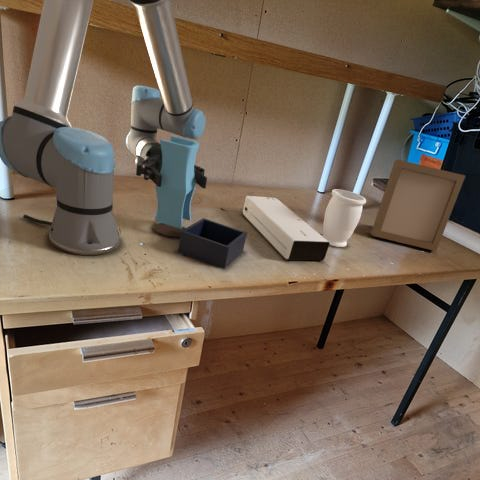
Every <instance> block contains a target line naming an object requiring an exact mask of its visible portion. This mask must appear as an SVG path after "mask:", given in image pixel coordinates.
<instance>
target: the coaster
mask: <svg viewBox="0 0 480 480" xmlns="http://www.w3.org/2000/svg"><path fill="white" fill-rule="evenodd" d="M185 228H186V227H184V226H182V229H180V228H177V227H173V226H169V225H166V224H162V223H157V224H155V225H154V227H153V231H154V232H155V233H157V234H158V235H160V236H163V237H167V238H172V239H180V234H181V231H182V230H184V229H185Z"/></svg>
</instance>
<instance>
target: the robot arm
mask: <svg viewBox="0 0 480 480" xmlns="http://www.w3.org/2000/svg"><path fill="white" fill-rule="evenodd" d="M128 2H129V3H131V4H132V5H133V6H134V8H135V11H136V14H137V18H138V21H139V24H140V28H141V31H142V35H143V38H144V42H145V46H146V48H147V52H148V55H149V58H150V63H151V65H152V69H153V72H154V75H155V79H156V83H157V85H158V88H159V89H158V88H155V87H151V86H146V85H135V86H134V87H133V88H132V96H131V102H130V103H131V110H130V111H131V112H130V129H129V130H130V131H129V132H128V133H127V135H126V139H125V144H126V147H127V149H128V151H129V153H130V154H131V155H132V156H133V157H134V158H135V167H136V168H135V176H137V177H141V176H142V175H143V180H144V181H149V180H151V182H153V184H155V186H156V185H157V186H158V187H161V182H162V175H161V174H160V171H161V168H162V149H161V144H160V142H159V141H157V136H158V135H157V134H158V129H159V130H161V131H165V132H168V133H171V134H174V135H175V136H176V135H177V136H178V137H181V138H185V139H189V140H198V139H199V138H201V136H202V135H203V133H204V131H205V129H206V122H207V121H206V115H205V113H204V112H203V111H202V110H200V109H198V108H195V106H194V103H193V99H192V94H191V90H190V85H189V80H188V75H187V71H186V66H185V61H184V57H183V52H182V48H181V44H180V39H179V34H178V30H177V25H176V21H175V17H174V11H173V7H172V2H171V0H128ZM93 3H94V0H43V4H42V7H41V14H40V19H39V24H38V29H37V32H36V39H35V43H34V48H33V53H32V57H31V62H30V68H29V72H28V78H27V81H26V87H25V92H24V97H23V99H22V100H21V101H19V102H18V101H17V102H16V103H14V105H13V107H12V113H11V115H9V116H5V117H4V118H3V120H0V160H1V162H2V163H3V164H4V165H5V167H7V168H8V169H10V170H11V171H13V172H15V173H17V174H19V175H20V176H22V177H24V178H29V179H31V180H34V181H37V182H40V183H41V184H45V185H47V186H49V187H52V188H55V194H56V209H55V212H54V214H53V217H52V220H51V221H50V220H49V221H48V220H44V219H43V220H42V219H39V218H35V217H32V216H30V215H27V214H23V218H24V219H25V220H28V221H31V222H33V223H37V224H41V225H45V226H50V227H49V231H48V232H49V233H48V237H49V243H50V244H51V245H52V246H53V247H54V248H56V249H59V251H62V252H65V253H69V254H74V255H79V256H80V255H81V256H98V255H105V254H108V253H111V252H114V251H115V250H116V249H118V248H119V247H120V243H121V242H120V241H121V239H120V236H121V232H122V230H121V226H120V225H119V227H118V226H117V222H116V219H115V215H114V212H113V208H114V207H113V205H114V204H113V203H114V182H115V180H114V179H115V168H116V167H115V166H116V164H115V152H114V147H113V145H112V144H111V142H110V141H109V140H108V139H106V138H105V137H104V136H102V135H100V134H98V133H95V132H94V131H90V130H87V129H82V128H79V127H74V126H72V124H71V123H70V121H69V119H68V113H69V109H70V105H71V99H72V95H73V91H74V87H75V83H76V78H77V73H78V70H79V65H80V61H81V58H82V57H81V56H82V51H83V47H84V43H85V39H86V35H87V31H88V26H89V22H90V16H91V13H92V9H93ZM205 171H206V169H205V168H203V167H201V166H199V165H196V164H194V175H195V180H196V185H197V186H199V187H200V188H202V189H206V188H207V182H208V181H207V180H208V177H207V176H206V175H205Z"/></svg>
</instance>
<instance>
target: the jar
mask: <svg viewBox="0 0 480 480" xmlns="http://www.w3.org/2000/svg"><path fill="white" fill-rule="evenodd" d="M366 203H367V199H366V198H365V197H364V196H363V195H360V194H358V193H356V192H353V191H350V190H345V189H341V188H338V189H337V188H334V189H332V191H331V198H330V199H329V201H328V203H327V205H326V209H325V211H324V217H323V224H322V232H323V234H321V236H322V237H324V238H325V239H326V240H327V241H328V242H329V243H330V244H329V246H332V247H336V248H345V247H346V246H347V245H348V242H347V241H348V240H349V239H350V238H351V237H352V235H353V234H354V231H355V229H356V228H357V226H358V224H359V222H360V220H361V216H362V213H363V205H365V204H366Z"/></svg>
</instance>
